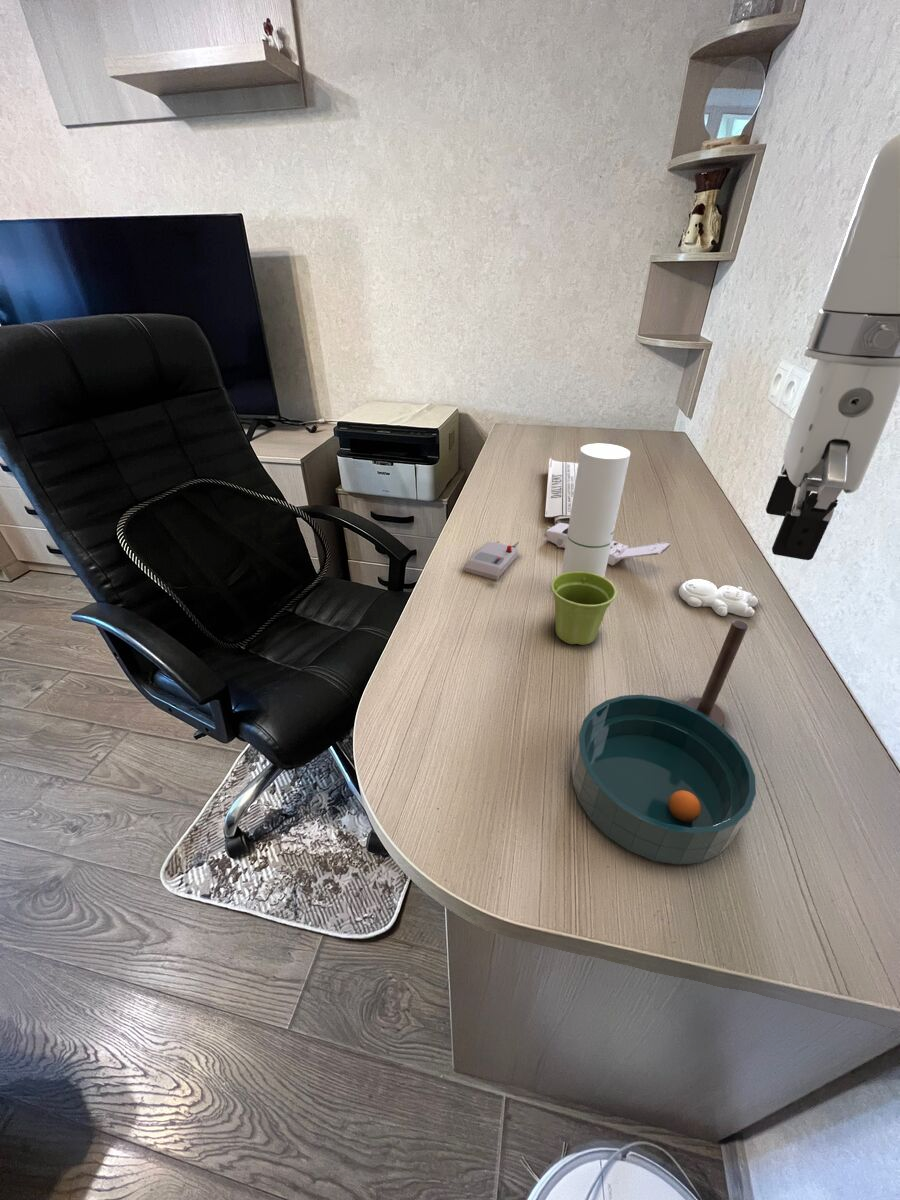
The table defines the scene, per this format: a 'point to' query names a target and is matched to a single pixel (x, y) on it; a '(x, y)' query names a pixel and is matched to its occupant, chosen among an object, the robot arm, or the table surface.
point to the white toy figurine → (718, 597)
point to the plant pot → (580, 605)
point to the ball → (684, 806)
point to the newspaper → (560, 490)
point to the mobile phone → (617, 550)
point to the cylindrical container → (595, 507)
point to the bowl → (661, 777)
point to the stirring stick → (719, 674)
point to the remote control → (491, 560)
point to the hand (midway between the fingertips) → (786, 534)
